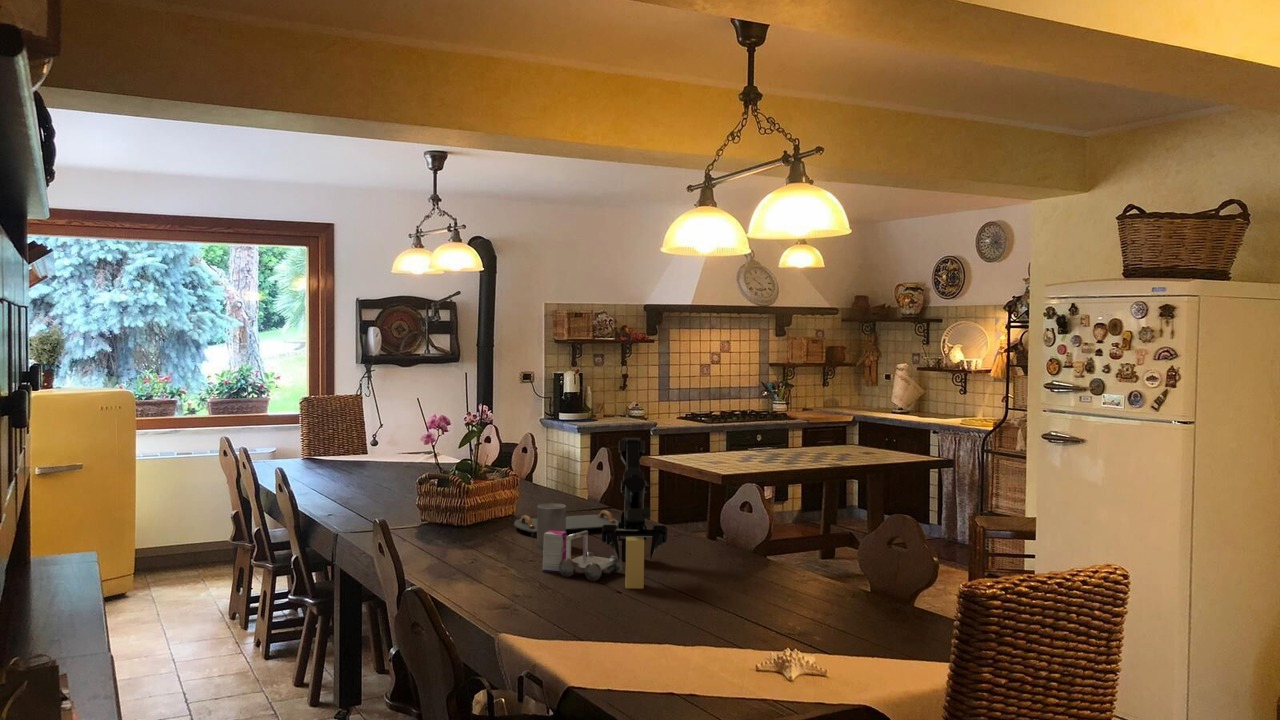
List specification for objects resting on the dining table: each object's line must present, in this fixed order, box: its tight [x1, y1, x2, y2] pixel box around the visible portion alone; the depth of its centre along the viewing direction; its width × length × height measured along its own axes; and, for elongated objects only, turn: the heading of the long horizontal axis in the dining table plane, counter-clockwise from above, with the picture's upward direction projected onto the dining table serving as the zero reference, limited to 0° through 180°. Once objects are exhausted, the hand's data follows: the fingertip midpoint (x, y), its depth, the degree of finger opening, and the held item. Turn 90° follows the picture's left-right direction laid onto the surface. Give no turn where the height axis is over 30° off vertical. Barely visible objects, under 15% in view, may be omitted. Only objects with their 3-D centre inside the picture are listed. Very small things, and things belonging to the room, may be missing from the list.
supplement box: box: [542, 530, 568, 574], centre depth 287 cm, size 6×6×12 cm
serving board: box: [513, 509, 620, 538], centre depth 351 cm, size 39×23×6 cm, turn 114°
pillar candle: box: [536, 502, 567, 550], centre depth 320 cm, size 10×10×15 cm
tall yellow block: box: [624, 537, 645, 589], centre depth 270 cm, size 5×5×14 cm
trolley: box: [559, 529, 624, 582], centre depth 283 cm, size 13×14×12 cm
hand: (634, 558), depth 270 cm, fingers open, 9 cm apart
